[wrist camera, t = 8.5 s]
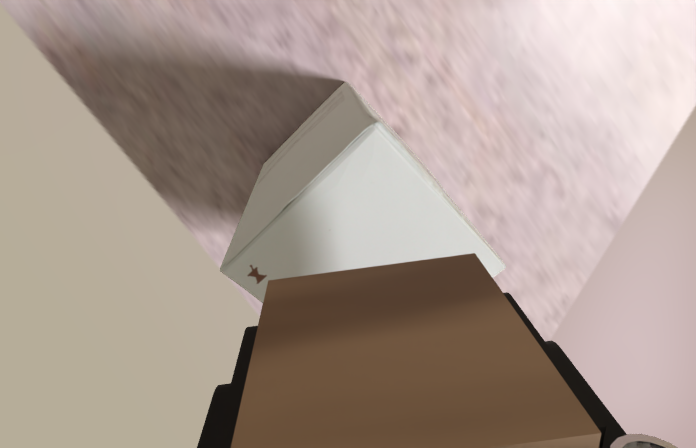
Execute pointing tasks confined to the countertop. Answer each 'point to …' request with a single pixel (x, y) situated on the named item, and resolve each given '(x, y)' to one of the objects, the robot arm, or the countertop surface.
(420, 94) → the countertop surface
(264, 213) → the supplement box
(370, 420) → the walnut cube
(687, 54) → the countertop surface
